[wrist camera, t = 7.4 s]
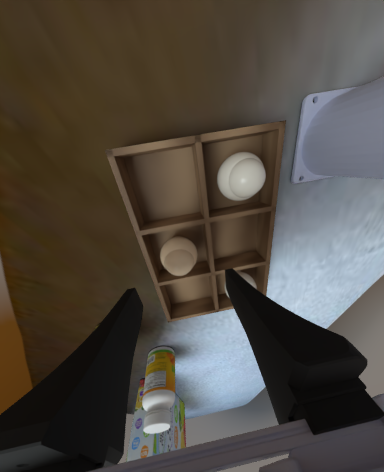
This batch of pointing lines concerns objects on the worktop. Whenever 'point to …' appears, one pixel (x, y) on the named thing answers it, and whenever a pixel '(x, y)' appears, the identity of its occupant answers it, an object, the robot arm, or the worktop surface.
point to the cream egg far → (246, 277)
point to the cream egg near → (241, 176)
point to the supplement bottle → (159, 389)
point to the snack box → (156, 442)
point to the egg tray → (200, 212)
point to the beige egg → (178, 255)
